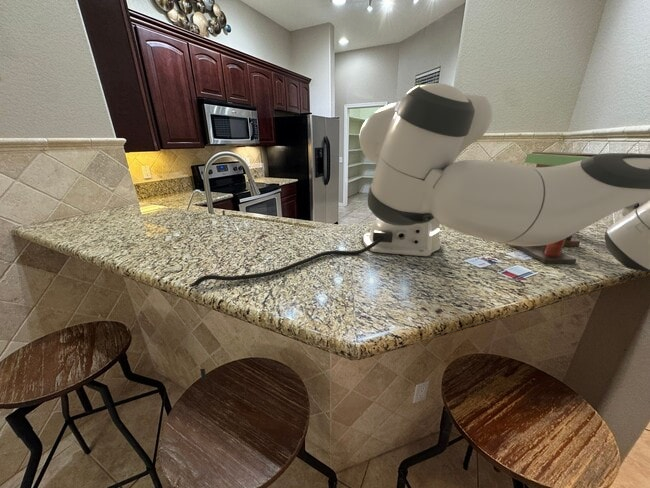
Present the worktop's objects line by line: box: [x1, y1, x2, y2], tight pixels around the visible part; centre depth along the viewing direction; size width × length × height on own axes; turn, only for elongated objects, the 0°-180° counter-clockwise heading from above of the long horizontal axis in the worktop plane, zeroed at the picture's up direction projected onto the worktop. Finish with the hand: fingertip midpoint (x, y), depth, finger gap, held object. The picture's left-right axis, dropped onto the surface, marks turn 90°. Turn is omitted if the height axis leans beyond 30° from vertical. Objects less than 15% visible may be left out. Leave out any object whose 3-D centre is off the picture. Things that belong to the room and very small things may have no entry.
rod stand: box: [511, 238, 577, 265], centre depth 72 cm, size 8×18×16 cm, turn 0°
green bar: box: [524, 153, 589, 166], centre depth 64 cm, size 3×26×2 cm, turn 0°
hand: (608, 162), depth 55 cm, fingers closed on green bar, 3 cm apart
